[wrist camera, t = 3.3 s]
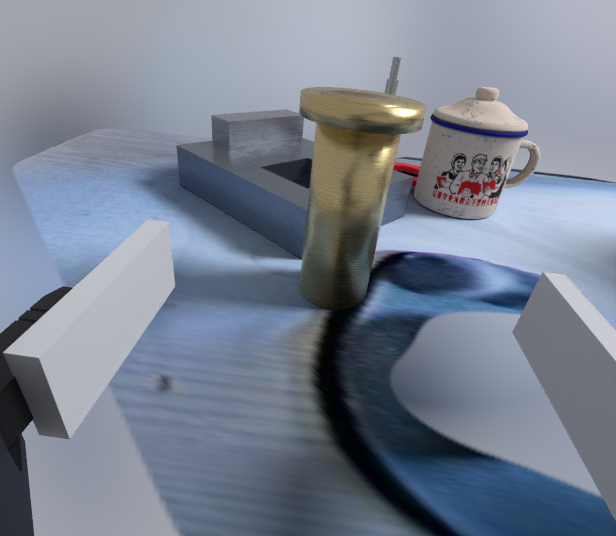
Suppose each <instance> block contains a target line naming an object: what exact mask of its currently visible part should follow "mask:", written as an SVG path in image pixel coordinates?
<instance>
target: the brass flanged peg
mask: <svg viewBox="0 0 616 536" xmlns="http://www.w3.org/2000/svg"><path fill="white" fill-rule="evenodd" d="M426 108H427V107H426V105H424V104H423V103H421V102H418V101H415V100H412V99H409V98H405V97H401V96H396V95H391V94H386V93H380V92H373V91H365V90H357V89H346V88H331V87H314V88H306V89H303V90H301V96H300V109H299V114H300V115H301V116H303V117H304V118H306V119H308V120H311V121H314V122H316V132H315V141H314V150H313V160H312V169H311V179H310V188H309V198H308V208H307V217H306V227H305V236H304V246H303V255H302V265H301V274H300V284H299V289H300V292H301V294H302V295H303V296H304V297H305V298H306V299H307V300H308V301H310V302H311V303H313V304H315V305H317V306H320V307H323V308H327V309H334V310H343V309H349V308H353V307H355V306H357V305H359V304H360V303H361V302H362V301H363V300H364V298H365V295H366V290H367V286H368V281H369V276H370V272H371V267H372V263H373V258H374V254H375V249H376V245H377V240H378V236H379V231H380V227H381V222H382V217H383V213H384V208H385V204H386V199H387V195H388V190H389V186H390V181H391V177H392V172H393V168H394V163H395V159H396V154H397V149H398V145H399V140H400V136H401V134H407V133H413V132H417V131H419V130H421V128H422V124H423V120H424V116H425V112H426Z"/></svg>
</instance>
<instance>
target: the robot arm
mask: <svg viewBox="0 0 616 536" xmlns="http://www.w3.org/2000/svg"><path fill="white" fill-rule="evenodd" d="M174 288H175V278H174V268H173V259H172V249H171V239H170V230H169V222H161V221H154V220H147V221H146V222H144V223H143V224H142V225H141V226H140V227H139V228H138V229H137V230H136V231H135V232H134V233H132V234H131V235H130V236H129V237H128V238H127V239H126V240H125V241H124V242H123V243H122V244H121V245H119V246H118V247H117V248H116V249H115V250H114V251H113V252H112V253H111V254H110V255H109V256H107V257H106V258H105V259H104V260H103V261H102V262H101V263H100V264H99V265H98V266H97V267H95V268H94V269H93V270H92V271H91V272H90V273H89V274H88V275H87V276H86V277H85V278H84V279H82V280H81V281H80V282H79V283H78V284H77V285H76V286H75V287H74V288H70V287H61V288H59V289H57V290H55V291H53V292H51V293H49V294H47V295H45V296H44V297H42V298H41V299H40V300H39V301H38V302H37V303H35V304H34V305H33V306H32V307H31V308H30V311H29V310H27V311H26V312H25V313H24V314H23V315H21V316H20V317H19V320H18V321H14V322H13V323H12V324H11V325H10V326H9V327H8V328H6V329H5V330H4V331H3V332H2V333H0V536H34V531H33V519H32V509H31V499H30V489H29V478H28V468H27V459H26V448H25V441H24V438H23V436H22V434H21V433H22V432H23V431H24V429H25V428H26V427H27V426H28V425H29V423H30V422H31V421H32V420H33V422H34V424H35V426H36V428H37V431H38V433H39V435H44V436H51V437H59V438H65V439H70V438H71V437H72V435H73V434H74V433H75V431H76V430H77V428H78V427H79V425H80V424H81V422H82V421H83V419H84V418H85V417H86V415H87V414H88V412H89V411H90V409H91V408H92V406H93V405H94V404H95V402H96V401H97V399H98V398H99V396H100V395H101V393H102V392H103V391H104V389H105V388H106V386H107V385H108V383H109V382H110V380H111V379H112V378H113V376H114V375H115V373H116V372H117V370H118V369H119V367H120V366H121V364H122V363H123V362H124V360H125V359H126V357H127V356H128V354H129V353H130V351H131V350H132V349H133V347H134V346H135V344H136V343H137V341H138V340H139V338H140V337H141V335H142V334H143V333H144V331H145V330H146V328H147V327H148V325H149V324H150V322H151V321H152V320H153V318H154V317H155V315H156V314H157V312H158V311H159V309H160V308H161V306H162V305H163V304H164V302H165V301H166V299H167V298H168V296H169V295H170V293H171V292H172V291H173V289H174ZM513 334H514V336H515V338H516V340H517V341H518V343H519V345H520V347H521V349H522V351H523V353H524V354H525V356H526V358H527V360H528V361H529V364H530V365H531V367H532V369H533V371H534V373H535V374H536V376H537V378H538V380H539V382H540V384H541V385H542V387H543V389H544V391H545V393H546V395H547V396H548V398H549V400H550V402H551V404H552V406H553V407H554V409H555V411H556V413H557V415H558V416H559V418H560V420H561V422H562V424H563V426H564V427H565V429H566V431H567V433H568V434H569V437H570V438H571V440H572V442H573V444H574V446H575V448H576V449H577V451H578V453H579V455H580V457H581V459H582V460H583V462H584V464H585V466H586V467H587V469H588V471H589V473H590V475H591V477H592V478H593V480H594V482H595V484H596V486H597V488H598V490H599V491H600V493H601V495H602V497H603V499H604V501H605V502H606V504H607V506H608V508H609V510H610V511H611V513H612V515H613V517H614V519H615V520H616V330H615V329H614V328H613V327H612V326H611V325H610V324H609V323H608V322H607V320H606V319H605V318H604V317H603V316H602V315H601V314H600V313H599V312H598V310H597V309H596V308H595V307H594V306H593V305H592V304H591V303H590V302H589V300H588V299H587V298H586V297H585V296H584V295H583V294H582V293H581V292H580V290H579V289H578V288H577V287H576V286H575V285H574V284H573V283H572V282H571V280H570V279H569V278H568V277H567V276H566V275H564V274H556V273H549V272H543V273H542V275H541V277H540V278H539V280H538V282H537V284H536V286H535V288H534V290H533V292H532V294H531V296H530V298H529V300H528V302H527V304H526V306H525V308H524V310H523V312H522V314H521V316H520V318H519V320H518V322H517V324H516V326H515V328H514V330H513Z"/></svg>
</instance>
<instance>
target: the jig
mask: <svg viewBox="0 0 616 536" xmlns="http://www.w3.org/2000/svg"><path fill="white" fill-rule="evenodd" d="M303 121H304V117H303V116H301V115H300V114H299V113H295V112H292V111H289V110H276V111H263V112H248V113H236V114H221V115H212V140H213V141H207V142H198V143H190V144H182V145H177V155H178V167H179V178H180V185H181V186H183V187H184V188H186V189H188V190H189V191H191V192H193V193H194V194H196V195H197V196H199V197H201V198H202V199H204V200H206V201H207V202H209V203H211V204H212V205H214V206H216V207H217V208H219V209H220V210H222V211H224V212H225V213H227V214H229V215H230V216H232V217H234V218H235V219H237V220H238V221H240V222H242V223H243V224H245V225H247V226H248V227H250V228H252V229H253V230H255V231H257V232H258V233H260V234H261V235H263V236H265V237H266V238H268V239H270V240H271V241H273V242H275V243H276V244H278V245H279V246H281V247H283V248H284V249H286V250H288V251H289V252H291V253H293V254H294V255H296V256H298V257H299V258H301V259H302V255H303V246H304V236H305V227H306V217H307V208H308V198H309V188H310V179H311V169H312V160H313V150H314V142H312V141H309V140H307V139H303V138H302V134H303ZM413 178H414V177H412V176H410V175H407V174H404V173H401V172H398V171H395V170H393V172H392V177H391V181H390V186H389V190H388V195H387V199H386V204H385V208H384V213H383V217H382V222H381V226H382V225H384V224H387V223H389V222H392V221H394V220H396V219H399V218H401V217H403V216H404V214H405V210H406V206H407V202H408V198H409V194H410V190H411V186H412V182H413Z"/></svg>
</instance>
